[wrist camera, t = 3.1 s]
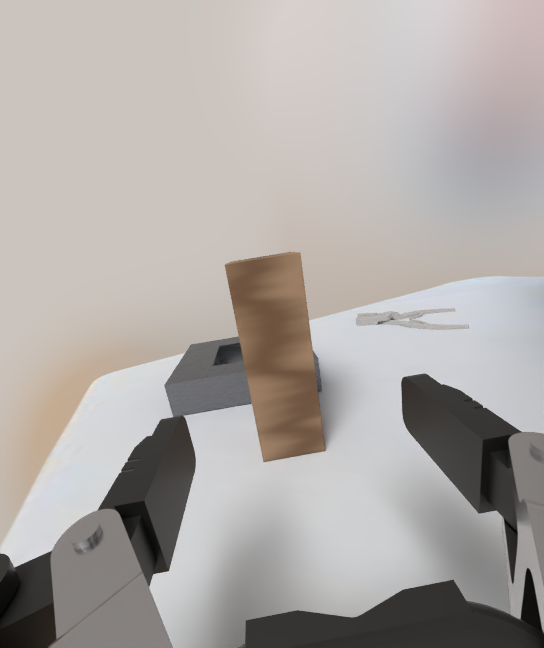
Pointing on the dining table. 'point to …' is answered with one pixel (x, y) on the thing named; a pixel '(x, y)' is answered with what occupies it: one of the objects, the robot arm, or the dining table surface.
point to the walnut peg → (277, 353)
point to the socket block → (212, 378)
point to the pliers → (387, 316)
